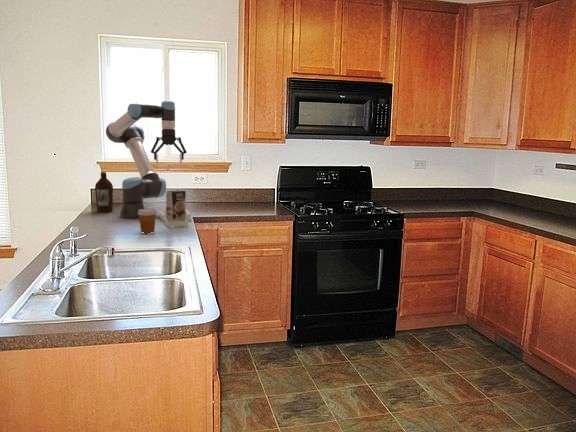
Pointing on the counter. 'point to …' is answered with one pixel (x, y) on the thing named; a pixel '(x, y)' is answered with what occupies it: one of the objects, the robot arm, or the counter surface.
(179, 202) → the coffee box
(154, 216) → the glass of beer
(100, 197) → the olive oil
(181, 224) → the tray
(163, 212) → the plastic food container
